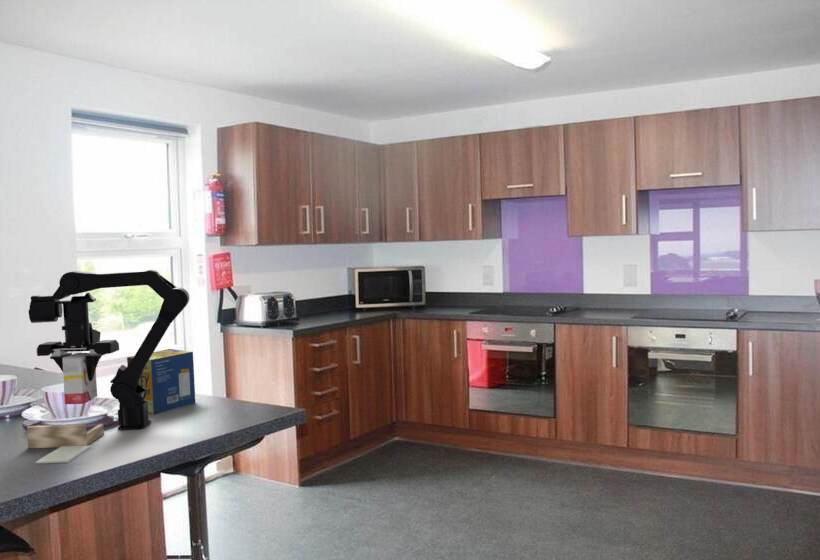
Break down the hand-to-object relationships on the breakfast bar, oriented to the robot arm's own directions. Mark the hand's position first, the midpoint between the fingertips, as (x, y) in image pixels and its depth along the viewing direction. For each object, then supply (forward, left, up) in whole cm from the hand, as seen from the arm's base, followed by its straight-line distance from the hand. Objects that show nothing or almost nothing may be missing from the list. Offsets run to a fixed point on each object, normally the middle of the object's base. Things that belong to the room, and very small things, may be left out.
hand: (80, 381), depth 180 cm
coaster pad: (-5, +20, -13) cm, 24 cm away
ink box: (0, 0, -5) cm, 5 cm away
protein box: (-12, -24, -13) cm, 30 cm away
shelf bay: (0, +9, -13) cm, 16 cm away
